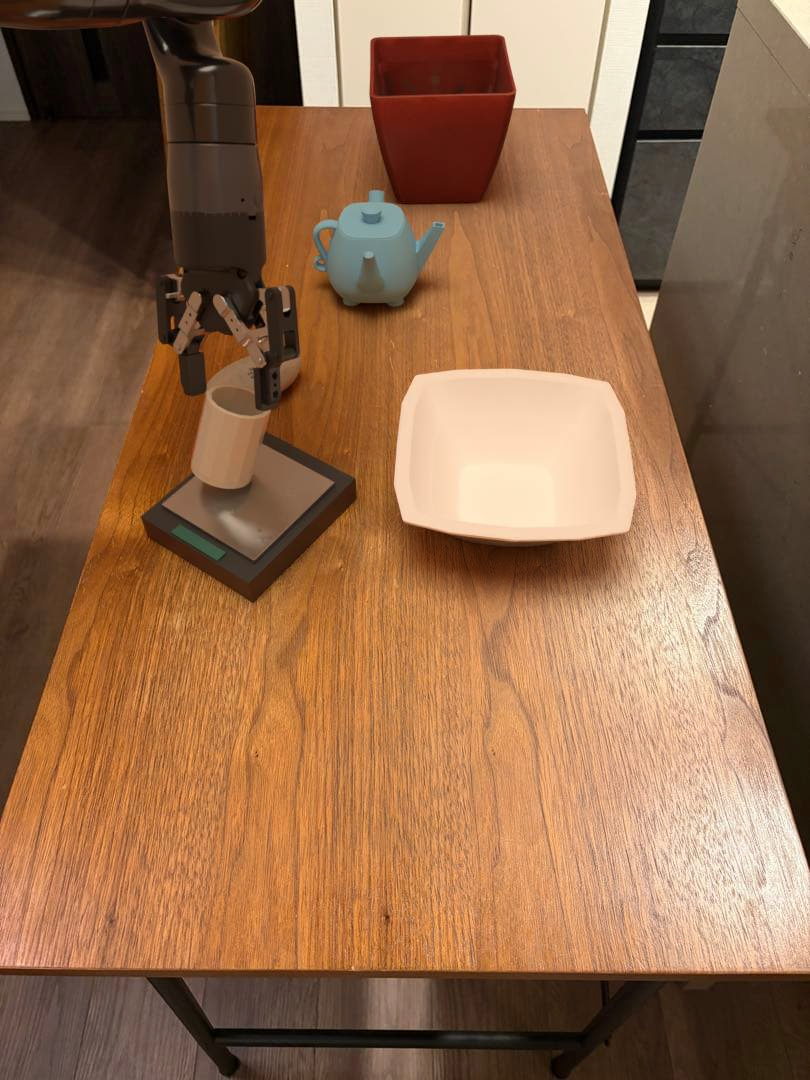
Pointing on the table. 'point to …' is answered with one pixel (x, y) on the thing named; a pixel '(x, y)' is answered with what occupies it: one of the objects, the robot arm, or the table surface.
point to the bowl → (514, 457)
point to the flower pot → (440, 113)
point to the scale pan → (252, 504)
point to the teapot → (373, 252)
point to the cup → (228, 437)
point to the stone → (244, 375)
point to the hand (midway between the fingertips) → (230, 401)
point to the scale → (264, 572)
